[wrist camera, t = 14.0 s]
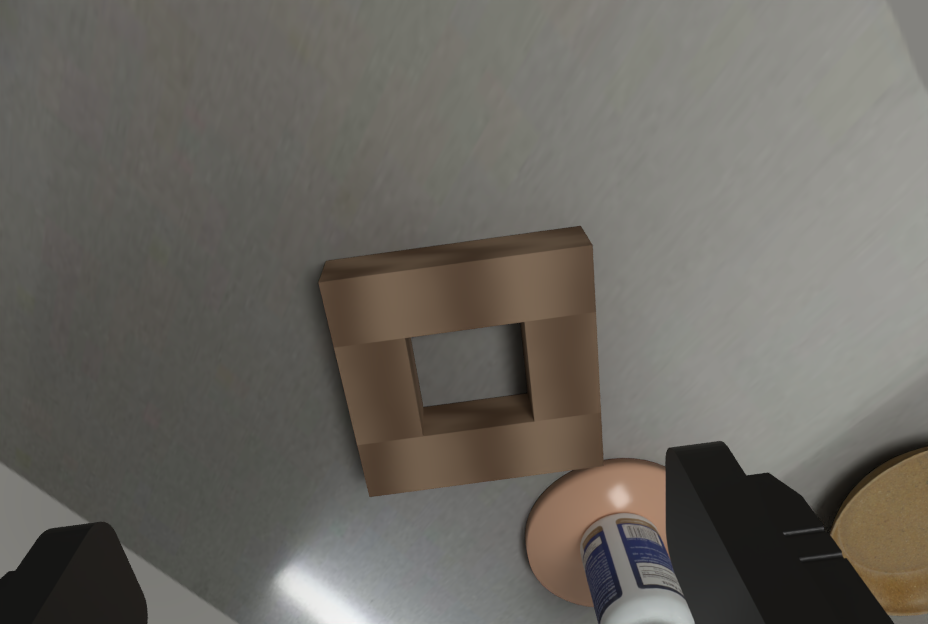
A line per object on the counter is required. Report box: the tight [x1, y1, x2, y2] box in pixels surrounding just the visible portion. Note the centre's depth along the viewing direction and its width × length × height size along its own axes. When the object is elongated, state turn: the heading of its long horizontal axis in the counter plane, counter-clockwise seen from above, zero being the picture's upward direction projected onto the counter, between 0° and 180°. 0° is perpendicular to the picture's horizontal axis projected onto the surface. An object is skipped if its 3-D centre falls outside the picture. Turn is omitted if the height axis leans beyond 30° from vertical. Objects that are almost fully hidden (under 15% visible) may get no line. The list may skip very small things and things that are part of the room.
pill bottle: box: [580, 513, 694, 624], centre depth 42 cm, size 5×5×10 cm
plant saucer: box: [830, 446, 928, 616], centre depth 47 cm, size 15×15×3 cm
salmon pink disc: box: [525, 458, 670, 607], centre depth 47 cm, size 12×12×1 cm
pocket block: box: [318, 226, 604, 497], centre depth 40 cm, size 14×14×3 cm
